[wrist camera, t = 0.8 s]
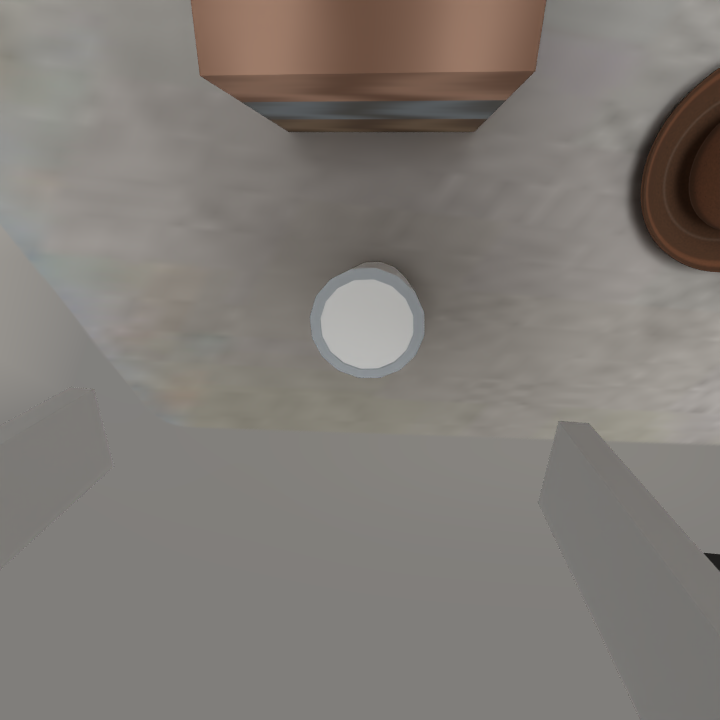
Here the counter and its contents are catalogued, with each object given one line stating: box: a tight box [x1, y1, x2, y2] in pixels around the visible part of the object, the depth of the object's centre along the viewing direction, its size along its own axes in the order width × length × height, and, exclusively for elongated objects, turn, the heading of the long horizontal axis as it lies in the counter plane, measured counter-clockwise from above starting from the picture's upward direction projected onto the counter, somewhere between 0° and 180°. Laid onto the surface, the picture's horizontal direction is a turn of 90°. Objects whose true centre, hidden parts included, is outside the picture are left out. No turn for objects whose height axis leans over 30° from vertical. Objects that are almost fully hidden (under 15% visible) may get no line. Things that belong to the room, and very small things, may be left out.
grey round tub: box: [310, 262, 424, 378], centre depth 26 cm, size 7×7×7 cm
